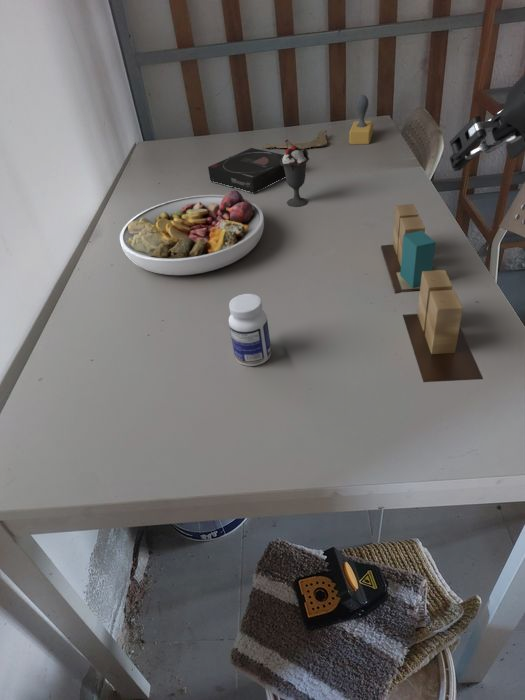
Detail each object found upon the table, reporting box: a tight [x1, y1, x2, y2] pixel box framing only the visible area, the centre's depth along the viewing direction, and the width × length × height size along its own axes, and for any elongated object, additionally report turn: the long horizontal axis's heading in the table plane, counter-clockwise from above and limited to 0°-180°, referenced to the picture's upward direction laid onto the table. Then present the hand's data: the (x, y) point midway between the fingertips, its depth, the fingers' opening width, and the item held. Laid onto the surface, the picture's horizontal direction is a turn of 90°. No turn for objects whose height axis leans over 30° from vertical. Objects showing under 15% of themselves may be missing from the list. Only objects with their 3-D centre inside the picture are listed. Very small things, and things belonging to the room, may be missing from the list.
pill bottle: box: [228, 293, 272, 367], centre depth 77 cm, size 6×6×10 cm
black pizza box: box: [207, 147, 286, 194], centre depth 137 cm, size 16×17×4 cm
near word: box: [402, 269, 484, 383], centre depth 75 cm, size 8×16×9 cm, turn 178°
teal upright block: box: [400, 231, 437, 288], centre depth 88 cm, size 3×5×8 cm
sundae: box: [280, 139, 310, 208], centre depth 118 cm, size 7×7×15 cm
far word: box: [380, 203, 435, 295], centre depth 92 cm, size 8×17×9 cm, turn 178°
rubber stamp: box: [349, 94, 374, 145], centre depth 150 cm, size 10×6×12 cm, turn 165°
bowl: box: [119, 189, 265, 276], centre depth 108 cm, size 30×30×8 cm
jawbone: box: [262, 129, 329, 150], centre depth 153 cm, size 9×20×2 cm, turn 105°
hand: (482, 158), depth 72 cm, fingers open, 8 cm apart
